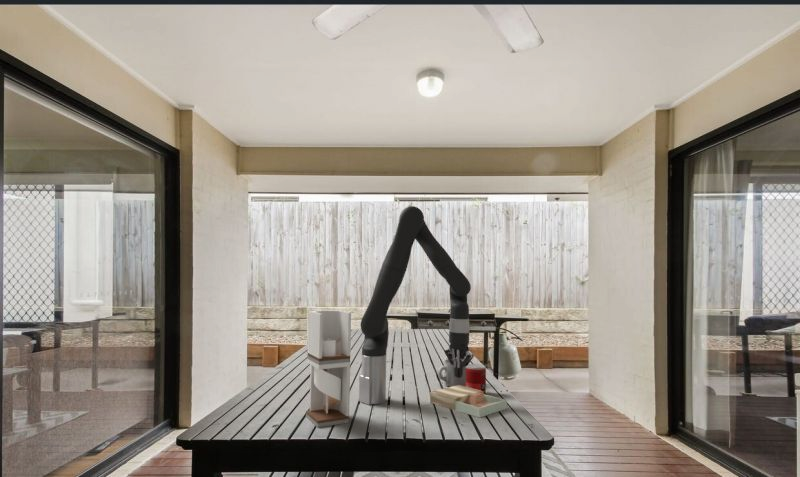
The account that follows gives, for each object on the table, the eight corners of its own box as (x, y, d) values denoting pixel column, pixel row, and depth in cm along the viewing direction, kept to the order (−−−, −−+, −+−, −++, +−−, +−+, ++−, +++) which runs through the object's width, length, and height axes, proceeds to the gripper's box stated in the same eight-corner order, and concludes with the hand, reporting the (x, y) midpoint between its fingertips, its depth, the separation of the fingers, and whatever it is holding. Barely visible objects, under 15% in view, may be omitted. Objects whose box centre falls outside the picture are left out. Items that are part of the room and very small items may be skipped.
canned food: (485, 397, 181) (485, 368, 182) (465, 395, 182) (465, 367, 183) (486, 392, 188) (486, 364, 189) (466, 390, 190) (466, 363, 191)
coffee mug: (463, 381, 206) (463, 358, 207) (470, 387, 196) (470, 363, 197) (434, 382, 204) (434, 359, 204) (440, 388, 194) (440, 363, 194)
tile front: (476, 404, 164) (476, 411, 163) (487, 407, 160) (487, 414, 160) (484, 401, 167) (484, 408, 167) (496, 404, 163) (496, 411, 163)
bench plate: (454, 410, 163) (454, 398, 164) (430, 402, 172) (430, 391, 172) (482, 401, 174) (482, 391, 174) (458, 395, 183) (458, 384, 183)
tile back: (469, 408, 166) (475, 410, 164) (469, 394, 166) (475, 395, 164) (478, 405, 169) (484, 407, 167) (478, 391, 169) (483, 393, 168)
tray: (479, 417, 155) (479, 408, 156) (455, 410, 163) (455, 401, 164) (506, 408, 166) (506, 400, 166) (482, 402, 174) (482, 393, 174)
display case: (306, 417, 154) (308, 311, 156) (336, 412, 159) (338, 310, 161) (317, 427, 144) (320, 314, 146) (349, 422, 149) (351, 312, 151)
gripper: (439, 329, 176) (438, 375, 175) (466, 333, 166) (465, 382, 165) (452, 327, 181) (451, 372, 180) (479, 332, 171) (478, 379, 170)
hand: (458, 377), depth 173 cm, fingers closed
